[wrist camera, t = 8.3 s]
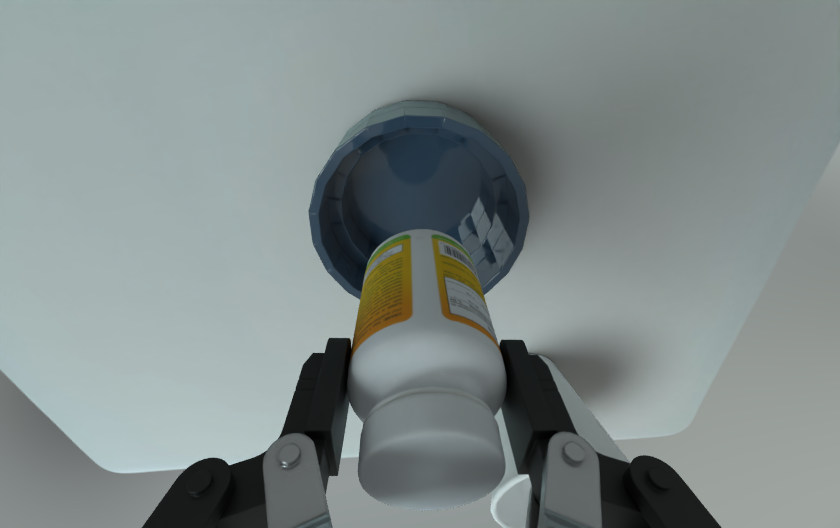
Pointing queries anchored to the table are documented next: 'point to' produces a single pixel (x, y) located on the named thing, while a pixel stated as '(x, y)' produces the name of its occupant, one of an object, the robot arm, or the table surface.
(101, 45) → the table surface
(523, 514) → the cup
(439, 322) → the supplement bottle
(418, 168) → the bowl
